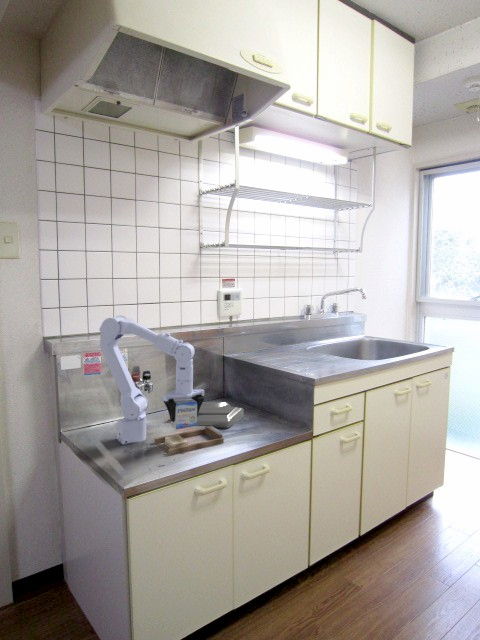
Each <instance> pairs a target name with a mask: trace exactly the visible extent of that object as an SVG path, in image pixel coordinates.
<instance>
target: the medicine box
mask: <svg viewBox="0 0 480 640" xmlns="http://www.w3.org/2000/svg"><path fill="white" fill-rule="evenodd" d="M174 402H175V403H177V404H176V409H175V422H172V421H171V420H170V426H171V427H172V428H174V429H175V430H179V429H180V430H181V429H186V428H192V427H196V426H198V425H197V401H195V400H194V399H192V398H185V399H177V400H174Z"/></svg>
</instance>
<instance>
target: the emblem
mask: <svg viewBox="0 0 480 640" xmlns="http://www.w3.org/2000/svg"><path fill="white" fill-rule="evenodd" d="M244 410H245V409H244V408H243V407H235V406H233V407H232V406H231V405H230V403H228V402H222V401H220V402H219V401H218V402H216V401H214V402H213V401H210V402H208V401H207V402H204V401H203V403H202V405H201V407H200V409H199V413H198V417H197V426H212V427H213V428H215V429H229V428H231V427H232V426H233V425H235V424H237V423H238V422H239V421H240V420H241V419H242V418H244V414H245V413H244Z"/></svg>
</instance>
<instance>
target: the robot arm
mask: <svg viewBox="0 0 480 640" xmlns="http://www.w3.org/2000/svg"><path fill="white" fill-rule="evenodd" d="M98 329H99V332H100V339H99V347H100V350H101V352H102V354H103V356H104V359H105V361H106V363H107V366H108V367H109V369H110V372H111V375H112V377H113V379H114V382H115V384H116V386H117V388H118V390H119V392H120V401H119V402H120V404H121V413H122V415H123V418H122V419H119V420H117V423H116V440H117V441H118V443H119V442H120V444H122V445H127V444H133V443H140V442H143V441H145V440H146V439H147V414H146V410H147V409H148V408H149V399H148V398H147V397H146V396H144V395H143V393H142V391H141V389H140V388H138V387H137V386H136V384H135V382H134V380H133V378H132V376H131V373H130V370H129V369H128V366H127V364H126V362H125V359H124V357H123V355H122V353H121V351H120V348H119V346H118V345H119V343H120V342H121V339H122V338H123V336H124V335H134V336H137V337H140V338H141V339H144V340H147V341H149V342H150V343H152V344H153V345H154V347H155V349H157V350H158V351H161V352H163V353H165V354H167V355H169V356H171V357H174V359H175V361H176V362H175V363H176V365H175V391H173V392H168V393H164V394H162V400H163V403H164V404H165V407H166V409H167V411H168V414H169V415H168V416H169V419H170V422H171V421H172V422H175V409H176V404H177V403H175V402H174V401H175V400H182V399H189V398H191V399H194V400H195V401H197V417H198V413H199V409H200V407H201V405H202V403H203V402H204V401H205V397H204V396H205V390H204V389H202V388H199V389H193V387H194V384H193V383H194V359H193V357H194V355H195V352H196V351H195V350H196V349H195V346H193V345H192V344H191V343H190V342H188V341H186V342H184V340H183V339H178V338H175V337H173V336H171V335H172V334H171V333H169V332H166V333H164V332H162V333H159V334H158V333H156V332H155V331H153V330H151V329H149V328H147V327H146V326H144V325H142V324H140V323H138V322H136V321H135V320H134V319H132V318H127V317H126V316H123V315H117V316H115V317H107V318H105V319H104V320H103V321H102V323H101V325H100V327H99V328H98Z"/></svg>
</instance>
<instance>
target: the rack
mask: <svg viewBox="0 0 480 640" xmlns="http://www.w3.org/2000/svg"><path fill="white" fill-rule="evenodd" d="M204 434H206V435H207V436H209V437H210V438H211V439H210V440H209V439H208V440H204V441H200V442H196V443H191V444H188V445H186V446H181V447H177V448H172V449H170V448H169V449H168V450H167V449H166V448H165V447H164V446H163V445H161V444H162V443H165V437H170V436H176V435H179V436H181V437H182V438H183V439H185V438H190V437H194V436H200V435H204ZM224 440H225V439H224V437H223V434H222V433H220V432H218V431H217V430H215V429H214V428H212V427H210V425H204V427H203V428H199V429H195V430H189V431H184V432H180V433H179V432H178V433H175V434H174V433H173V434H168V435H165V436H158V437H154V441H153V443H154V444H155V445H156V446H158V447H159V448H160V449H161V450H162V451H163V452H164V453H166V454H167V455H168V456H173V455H177V454H183V453H186V452H191V451H196V450H198V449H203V448H208V447H213V446H215V445H216V446H217V445H220V444H224V442H225V441H224Z"/></svg>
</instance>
